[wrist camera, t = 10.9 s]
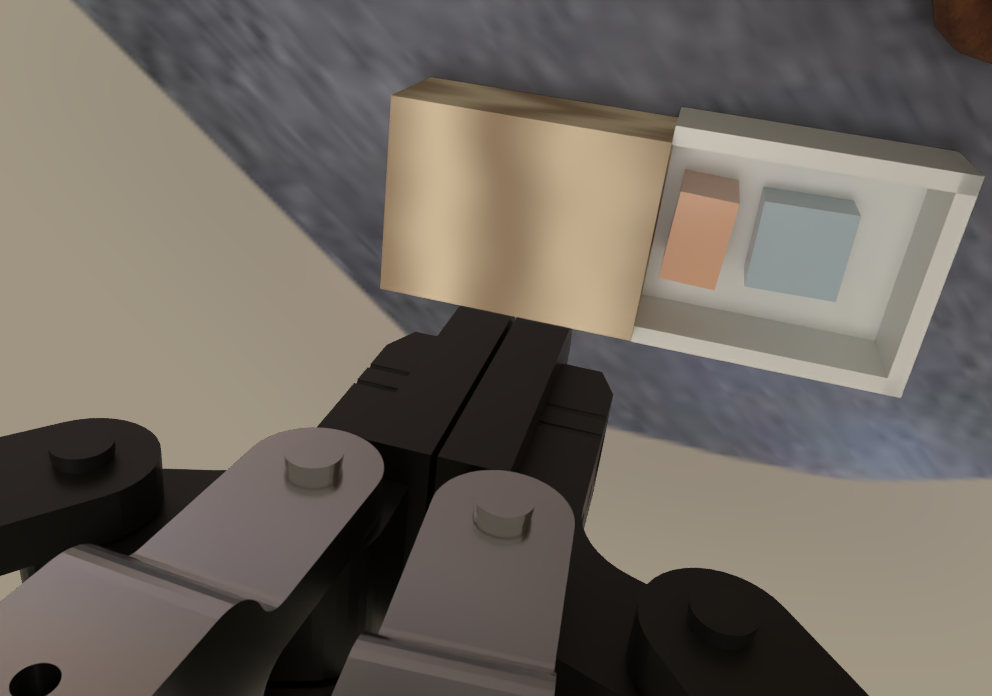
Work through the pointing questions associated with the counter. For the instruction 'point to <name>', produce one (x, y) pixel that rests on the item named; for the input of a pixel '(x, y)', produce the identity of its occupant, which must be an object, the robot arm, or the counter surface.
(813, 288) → the slate tile
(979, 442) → the counter surface
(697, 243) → the terracotta tile
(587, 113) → the wooden block
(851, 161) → the tray
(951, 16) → the wooden figurine
